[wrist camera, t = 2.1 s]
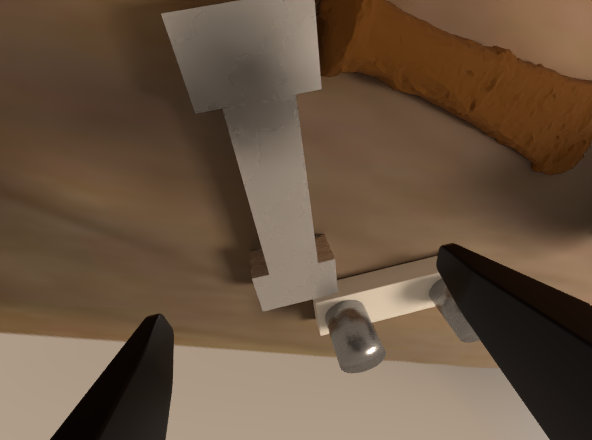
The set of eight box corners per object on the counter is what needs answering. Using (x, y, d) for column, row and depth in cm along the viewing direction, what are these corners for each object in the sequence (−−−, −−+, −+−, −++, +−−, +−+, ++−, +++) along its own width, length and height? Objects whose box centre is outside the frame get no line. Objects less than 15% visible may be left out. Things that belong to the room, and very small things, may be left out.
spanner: (299, -7, 11) (313, -13, 9) (327, 266, 20) (337, 293, 18) (173, 15, 11) (161, 13, 9) (259, 282, 19) (262, 311, 17)
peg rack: (465, 248, 21) (519, 301, 17) (454, 284, 24) (500, 338, 20) (310, 286, 20) (330, 351, 16) (315, 319, 23) (334, 382, 19)
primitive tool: (624, 91, 16) (704, 106, 14) (554, 175, 19) (608, 201, 17) (322, -41, 11) (354, -62, 8) (286, 106, 14) (299, 129, 11)
